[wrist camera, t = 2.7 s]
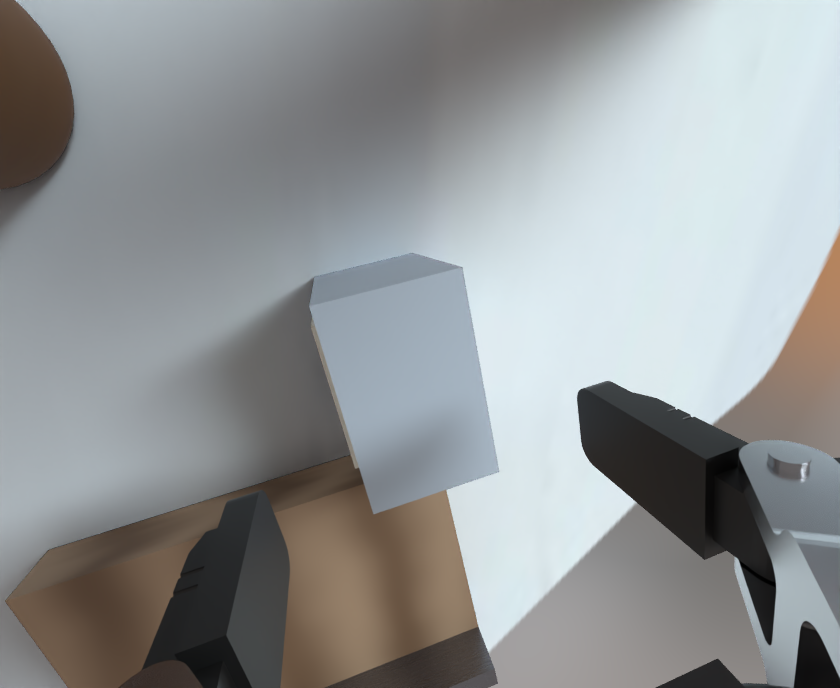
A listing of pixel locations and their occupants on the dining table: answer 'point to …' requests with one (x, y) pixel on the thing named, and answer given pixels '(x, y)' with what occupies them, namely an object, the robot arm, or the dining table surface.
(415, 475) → the carton
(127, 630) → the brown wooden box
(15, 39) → the mug
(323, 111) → the dining table surface
